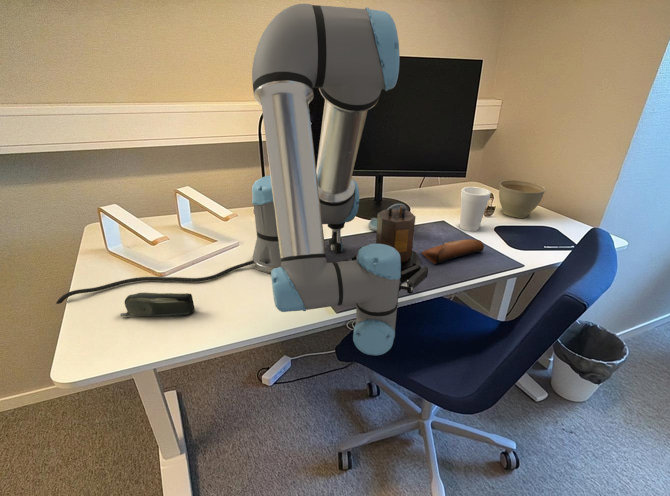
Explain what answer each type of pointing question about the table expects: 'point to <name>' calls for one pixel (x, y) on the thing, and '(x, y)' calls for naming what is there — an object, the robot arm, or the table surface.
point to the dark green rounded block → (159, 304)
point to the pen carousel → (396, 230)
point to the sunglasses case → (453, 250)
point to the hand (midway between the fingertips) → (387, 254)
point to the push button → (336, 237)
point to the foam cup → (473, 207)
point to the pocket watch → (373, 222)
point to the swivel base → (408, 262)
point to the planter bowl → (519, 197)
